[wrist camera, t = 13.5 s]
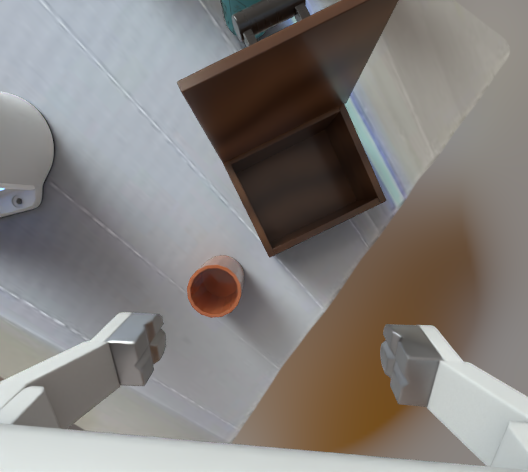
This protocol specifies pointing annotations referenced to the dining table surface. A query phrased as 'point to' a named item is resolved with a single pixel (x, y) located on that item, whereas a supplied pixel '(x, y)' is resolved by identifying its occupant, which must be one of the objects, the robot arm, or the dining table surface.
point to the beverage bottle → (232, 4)
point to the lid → (283, 70)
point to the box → (305, 181)
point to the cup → (216, 286)
